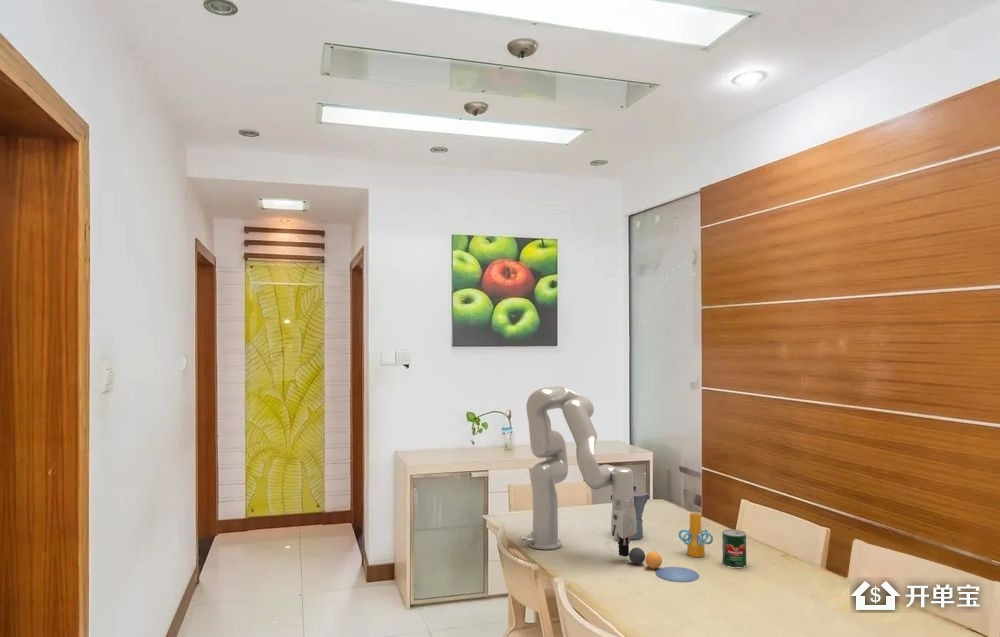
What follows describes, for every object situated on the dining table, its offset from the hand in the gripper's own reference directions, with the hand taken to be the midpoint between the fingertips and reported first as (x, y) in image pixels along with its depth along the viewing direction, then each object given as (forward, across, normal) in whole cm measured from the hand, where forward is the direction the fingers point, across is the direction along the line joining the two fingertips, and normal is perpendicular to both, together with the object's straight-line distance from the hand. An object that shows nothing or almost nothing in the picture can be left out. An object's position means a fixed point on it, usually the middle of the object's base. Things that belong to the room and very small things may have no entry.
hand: (623, 555), depth 239 cm
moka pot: (+2, +26, +14) cm, 29 cm away
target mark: (+2, 0, -21) cm, 21 cm away
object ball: (-1, 0, -12) cm, 12 cm away
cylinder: (+2, +23, -16) cm, 28 cm away
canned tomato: (+2, +22, -30) cm, 38 cm away
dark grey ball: (-1, 0, -5) cm, 5 cm away
